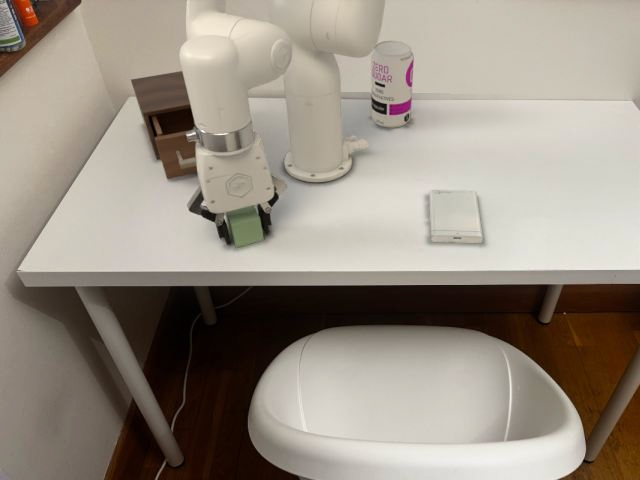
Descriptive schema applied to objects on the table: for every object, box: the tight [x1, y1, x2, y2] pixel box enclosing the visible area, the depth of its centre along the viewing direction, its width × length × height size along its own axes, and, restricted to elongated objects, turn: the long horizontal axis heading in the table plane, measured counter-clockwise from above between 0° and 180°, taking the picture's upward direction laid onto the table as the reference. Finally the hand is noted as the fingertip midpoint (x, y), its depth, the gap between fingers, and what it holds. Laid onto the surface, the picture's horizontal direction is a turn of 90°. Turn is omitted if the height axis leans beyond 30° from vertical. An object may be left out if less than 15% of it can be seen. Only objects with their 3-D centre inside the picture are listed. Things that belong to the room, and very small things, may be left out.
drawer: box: [151, 108, 198, 180], centre depth 102 cm, size 18×11×8 cm, turn 25°
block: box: [224, 205, 265, 248], centre depth 89 cm, size 4×4×4 cm
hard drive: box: [428, 189, 484, 244], centre depth 94 cm, size 2×8×12 cm
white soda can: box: [370, 40, 415, 129], centre depth 114 cm, size 8×8×15 cm
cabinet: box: [130, 70, 191, 161], centre depth 110 cm, size 15×13×10 cm
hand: (245, 233), depth 91 cm, fingers open, 5 cm apart
